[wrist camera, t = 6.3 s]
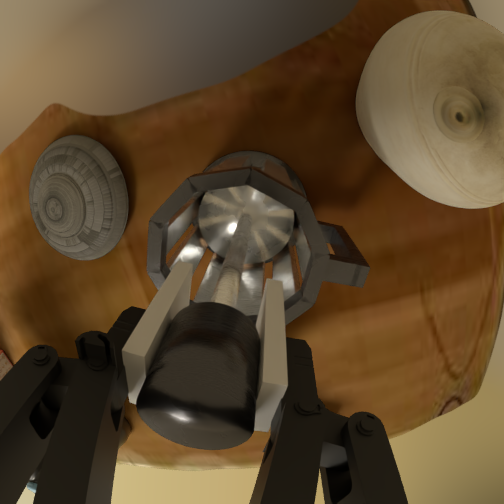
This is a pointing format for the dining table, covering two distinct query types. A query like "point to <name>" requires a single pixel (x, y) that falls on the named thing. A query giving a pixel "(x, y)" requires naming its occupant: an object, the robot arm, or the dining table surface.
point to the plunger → (216, 331)
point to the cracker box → (4, 364)
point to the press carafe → (284, 263)
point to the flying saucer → (79, 198)
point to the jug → (438, 106)
